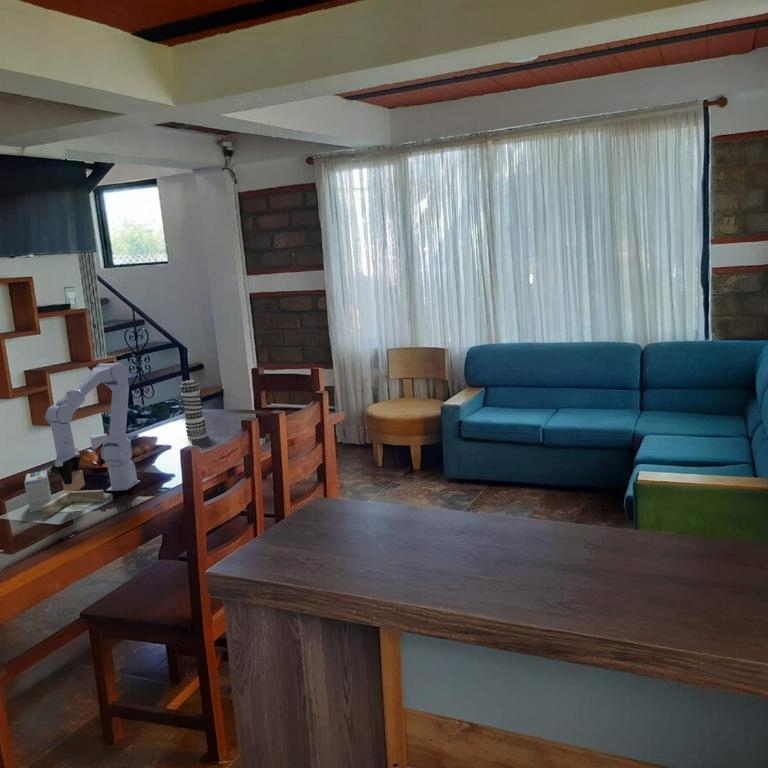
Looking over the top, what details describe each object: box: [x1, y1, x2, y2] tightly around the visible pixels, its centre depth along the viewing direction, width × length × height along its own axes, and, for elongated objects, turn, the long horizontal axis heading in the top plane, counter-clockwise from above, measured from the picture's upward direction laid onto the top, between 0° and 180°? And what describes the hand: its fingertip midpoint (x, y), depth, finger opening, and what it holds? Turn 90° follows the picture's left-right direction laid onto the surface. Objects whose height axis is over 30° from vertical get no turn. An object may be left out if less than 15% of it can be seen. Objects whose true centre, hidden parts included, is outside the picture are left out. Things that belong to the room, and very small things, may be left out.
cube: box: [61, 470, 86, 492], centre depth 245 cm, size 5×5×5 cm
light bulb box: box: [24, 470, 53, 513], centre depth 251 cm, size 11×7×11 cm, turn 22°
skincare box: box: [89, 433, 109, 449], centre depth 296 cm, size 6×4×12 cm
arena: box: [41, 489, 106, 518], centre depth 245 cm, size 15×13×4 cm
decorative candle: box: [179, 379, 208, 440], centre depth 325 cm, size 9×9×25 cm
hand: (71, 481), depth 245 cm, fingers closed on cube, 5 cm apart
